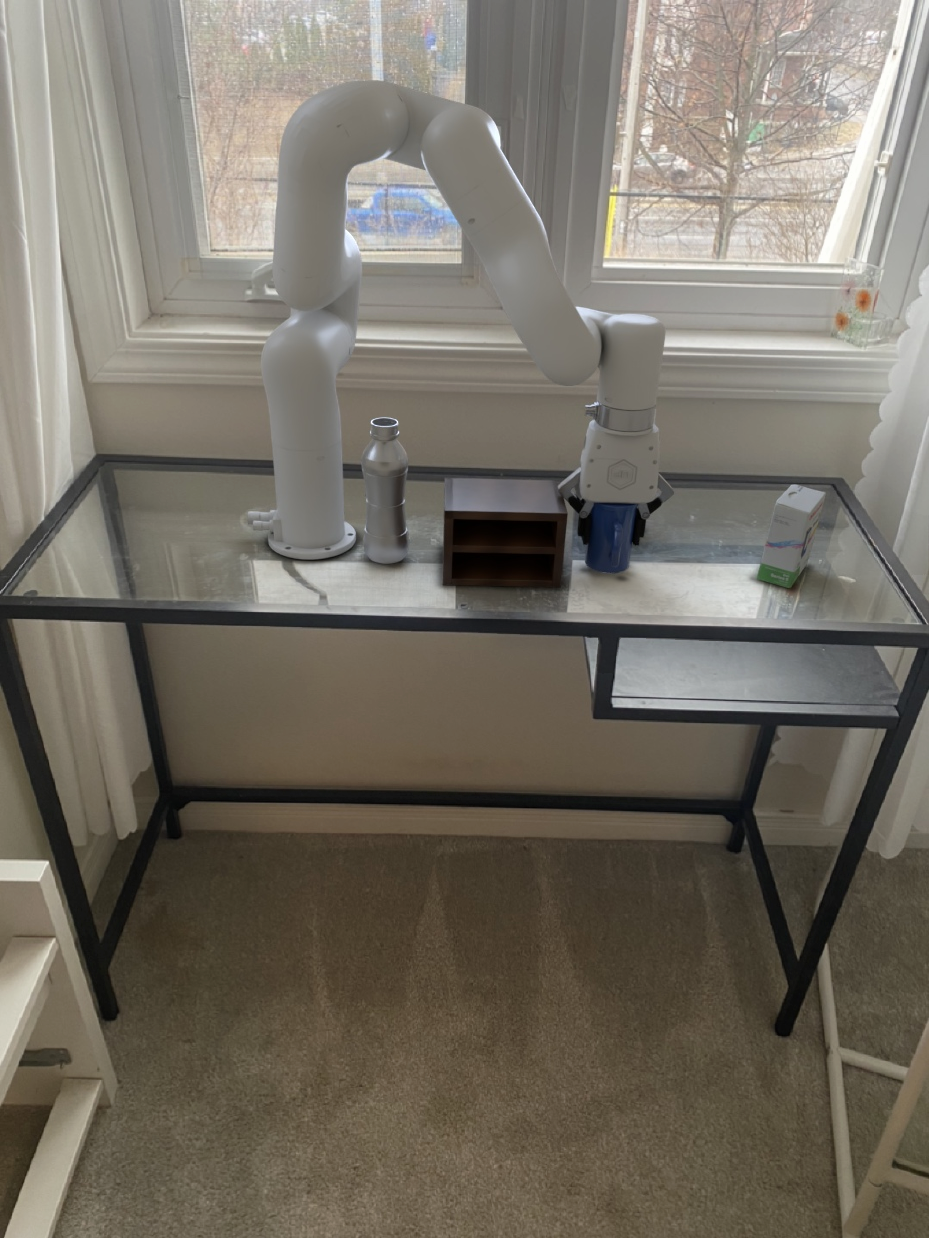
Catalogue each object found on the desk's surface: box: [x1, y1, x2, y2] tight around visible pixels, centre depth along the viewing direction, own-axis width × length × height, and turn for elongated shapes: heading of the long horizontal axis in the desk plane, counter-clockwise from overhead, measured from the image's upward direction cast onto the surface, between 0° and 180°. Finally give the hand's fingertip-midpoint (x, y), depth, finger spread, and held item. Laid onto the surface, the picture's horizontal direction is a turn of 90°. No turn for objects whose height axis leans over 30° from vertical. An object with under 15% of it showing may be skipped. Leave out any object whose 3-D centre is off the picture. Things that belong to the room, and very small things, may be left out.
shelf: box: [442, 477, 569, 588], centre depth 132 cm, size 16×11×11 cm
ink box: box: [756, 483, 827, 589], centre depth 133 cm, size 9×5×12 cm, turn 148°
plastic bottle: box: [360, 417, 410, 565], centre depth 131 cm, size 6×7×20 cm
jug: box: [584, 503, 638, 574], centre depth 131 cm, size 7×10×10 cm, turn 1°
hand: (609, 539), depth 133 cm, fingers closed on jug, 6 cm apart
